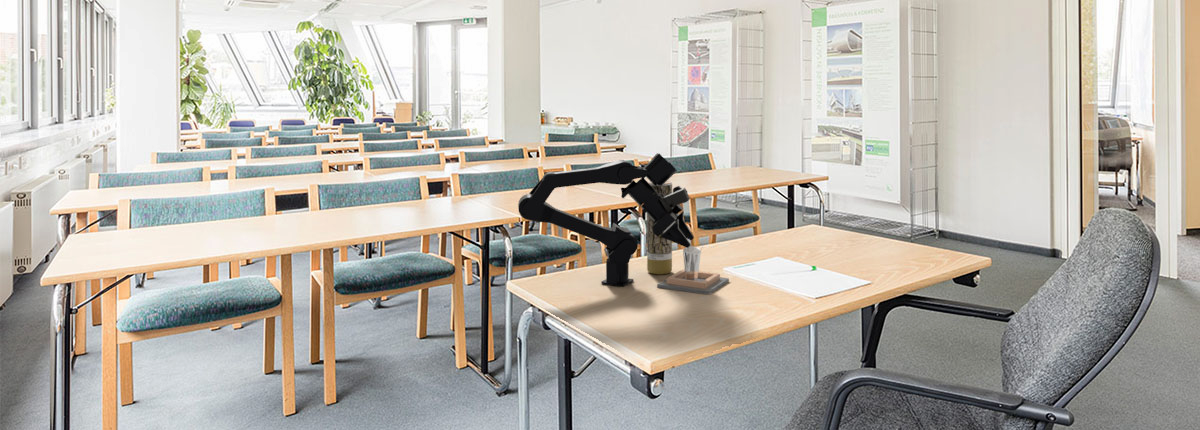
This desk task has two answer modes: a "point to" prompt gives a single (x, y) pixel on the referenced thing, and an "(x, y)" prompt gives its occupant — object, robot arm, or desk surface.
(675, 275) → the dock
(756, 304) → the desk surface
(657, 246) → the brown tall cylinder
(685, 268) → the milkshake
